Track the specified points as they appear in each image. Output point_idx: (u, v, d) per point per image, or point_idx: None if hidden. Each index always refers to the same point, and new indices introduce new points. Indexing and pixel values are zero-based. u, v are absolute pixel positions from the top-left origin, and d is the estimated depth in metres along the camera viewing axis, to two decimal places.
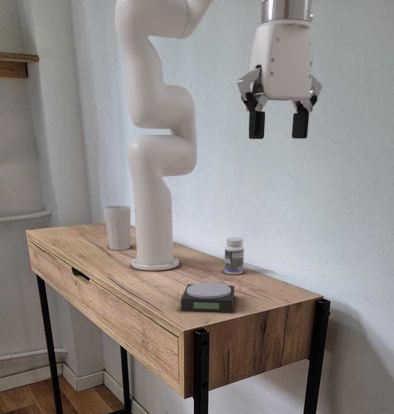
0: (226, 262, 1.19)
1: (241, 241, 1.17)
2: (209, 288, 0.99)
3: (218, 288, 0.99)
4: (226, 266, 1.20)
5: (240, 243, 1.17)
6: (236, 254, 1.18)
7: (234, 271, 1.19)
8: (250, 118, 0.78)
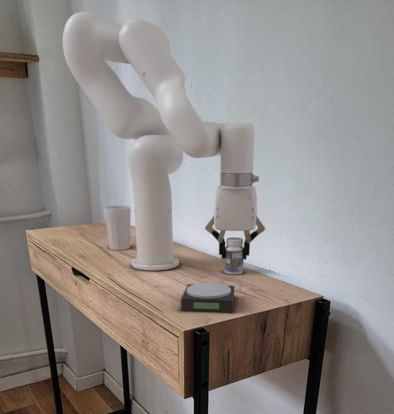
0: (226, 262, 1.19)
1: (241, 241, 1.17)
2: (209, 288, 0.99)
3: (218, 288, 0.99)
4: (226, 266, 1.20)
5: (240, 243, 1.17)
6: (236, 254, 1.18)
7: (234, 271, 1.19)
8: None
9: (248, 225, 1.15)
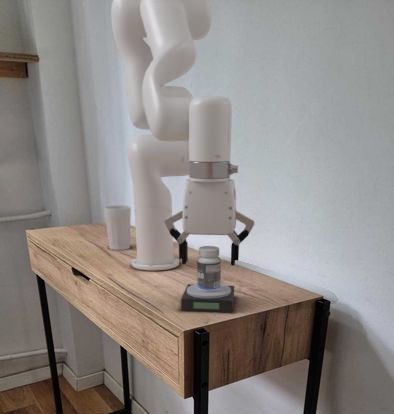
0: (199, 277, 0.96)
1: (217, 251, 0.94)
2: None
3: None
4: (199, 282, 0.96)
5: (216, 253, 0.94)
6: (211, 267, 0.94)
7: (209, 288, 0.96)
8: None
9: (225, 228, 0.91)
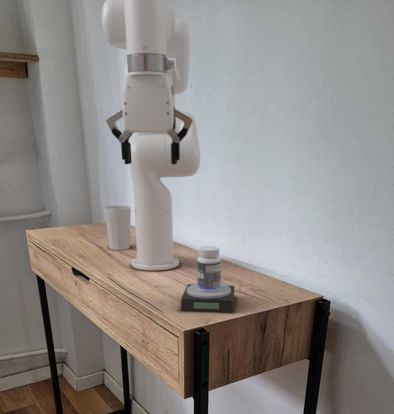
0: (199, 277, 0.96)
1: (217, 251, 0.94)
2: None
3: None
4: (199, 282, 0.96)
5: (216, 253, 0.94)
6: (211, 267, 0.94)
7: (209, 288, 0.96)
8: None
9: (163, 124, 0.94)
